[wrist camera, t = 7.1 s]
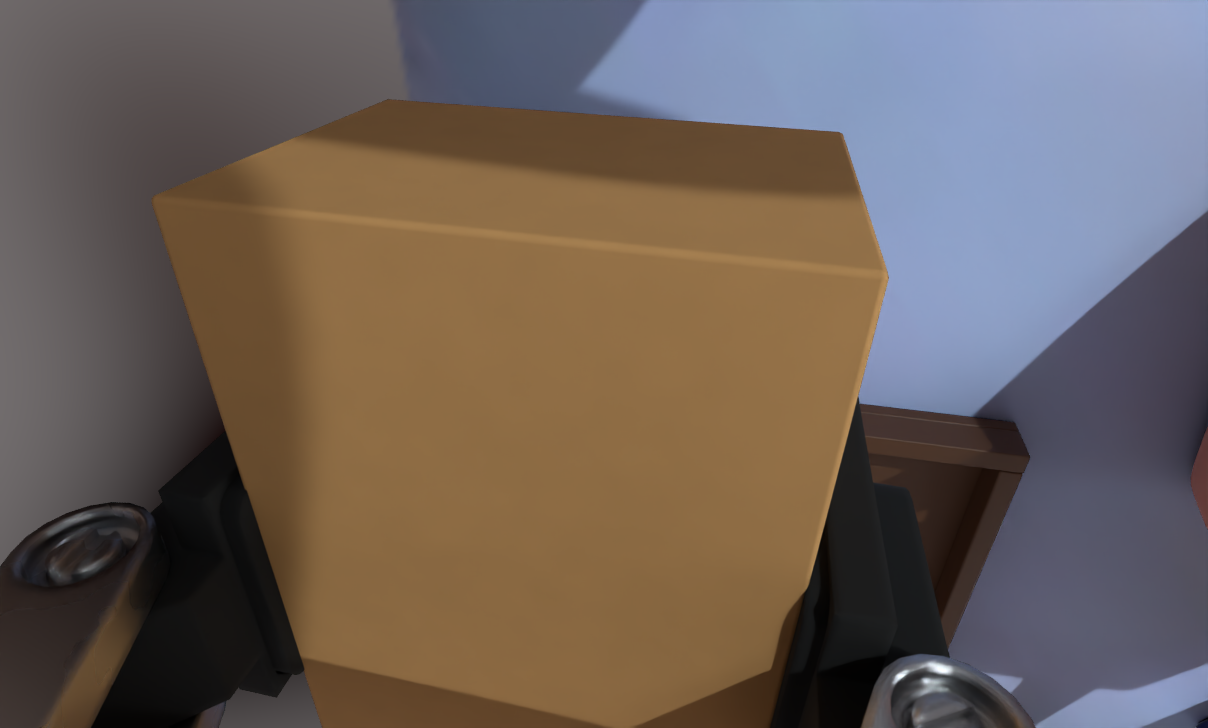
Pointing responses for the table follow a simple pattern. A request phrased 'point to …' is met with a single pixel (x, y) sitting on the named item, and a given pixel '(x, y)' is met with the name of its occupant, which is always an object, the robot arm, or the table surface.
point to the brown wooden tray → (949, 489)
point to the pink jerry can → (1201, 478)
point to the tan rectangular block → (535, 402)
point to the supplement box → (1203, 724)
